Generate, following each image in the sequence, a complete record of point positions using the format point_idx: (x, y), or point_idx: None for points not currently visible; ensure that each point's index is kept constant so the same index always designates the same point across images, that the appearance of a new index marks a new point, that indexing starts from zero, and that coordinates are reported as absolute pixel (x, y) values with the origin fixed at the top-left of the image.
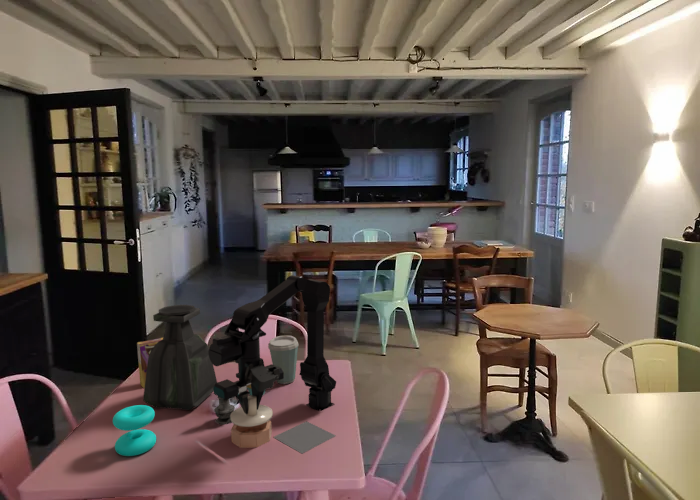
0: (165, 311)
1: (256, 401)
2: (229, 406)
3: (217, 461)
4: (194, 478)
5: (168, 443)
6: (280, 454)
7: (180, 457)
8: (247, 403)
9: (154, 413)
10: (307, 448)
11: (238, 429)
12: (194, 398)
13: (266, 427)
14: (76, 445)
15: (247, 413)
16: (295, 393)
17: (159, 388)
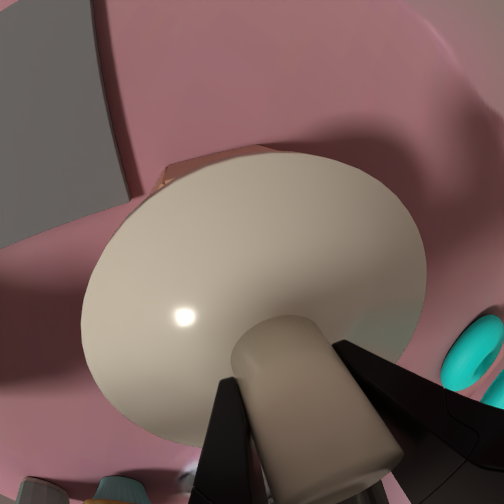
0: None
1: (252, 451)
2: None
3: (419, 167)
4: (481, 128)
5: (433, 346)
6: (169, 26)
7: (459, 264)
8: (414, 404)
9: (499, 399)
10: (39, 2)
11: None
12: None
13: None
14: (483, 375)
15: (339, 341)
16: (12, 444)
17: (372, 501)
